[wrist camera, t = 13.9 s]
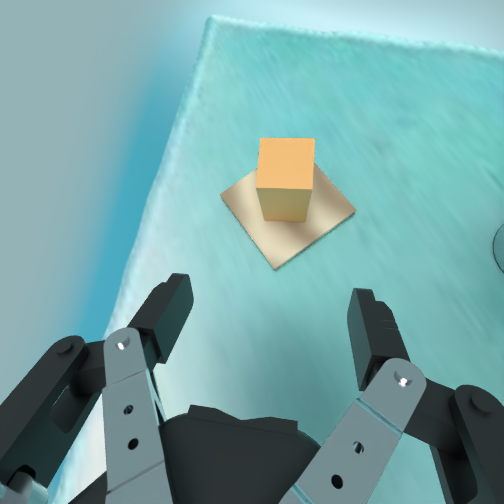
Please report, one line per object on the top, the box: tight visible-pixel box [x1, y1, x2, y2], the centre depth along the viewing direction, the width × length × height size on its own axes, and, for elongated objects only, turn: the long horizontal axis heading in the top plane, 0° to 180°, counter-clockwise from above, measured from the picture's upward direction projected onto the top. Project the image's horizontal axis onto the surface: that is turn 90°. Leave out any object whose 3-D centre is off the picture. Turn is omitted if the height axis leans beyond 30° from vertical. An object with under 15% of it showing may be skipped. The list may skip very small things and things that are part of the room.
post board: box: [220, 163, 356, 271], centre depth 34 cm, size 13×13×8 cm
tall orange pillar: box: [256, 138, 315, 223], centre depth 31 cm, size 5×5×10 cm
